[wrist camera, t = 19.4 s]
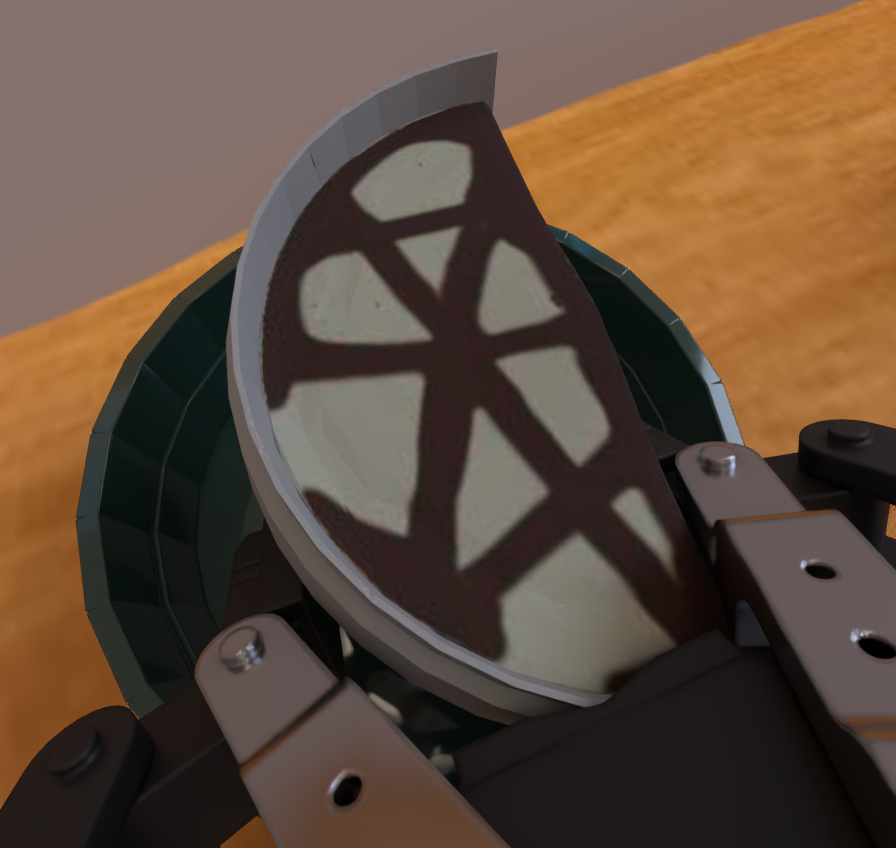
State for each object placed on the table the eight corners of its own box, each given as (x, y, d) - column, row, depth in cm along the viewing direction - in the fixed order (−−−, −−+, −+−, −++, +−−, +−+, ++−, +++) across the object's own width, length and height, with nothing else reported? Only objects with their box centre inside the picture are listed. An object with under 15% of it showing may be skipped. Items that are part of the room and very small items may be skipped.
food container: (292, 364, 18) (153, 78, 9) (457, 327, 19) (487, 31, 10) (372, 754, 14) (255, 1000, 4) (583, 680, 14) (861, 753, 5)
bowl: (536, 266, 21) (571, 150, 16) (746, 644, 16) (899, 649, 11) (151, 378, 18) (47, 280, 13) (246, 883, 13) (132, 1039, 8)
